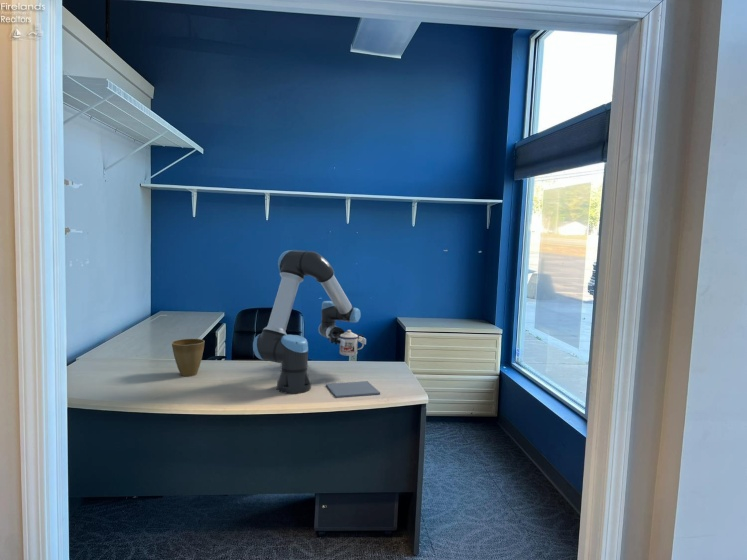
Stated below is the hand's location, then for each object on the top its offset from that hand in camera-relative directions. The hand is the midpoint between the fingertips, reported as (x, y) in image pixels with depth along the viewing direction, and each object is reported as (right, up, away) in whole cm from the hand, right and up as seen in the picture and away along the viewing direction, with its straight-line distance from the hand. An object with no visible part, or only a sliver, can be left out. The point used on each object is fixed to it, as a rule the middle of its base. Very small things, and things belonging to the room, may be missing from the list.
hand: (354, 342), depth 253 cm
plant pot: (-80, -16, +1) cm, 82 cm away
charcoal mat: (0, -19, -16) cm, 25 cm away
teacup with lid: (-2, -6, +4) cm, 8 cm away
